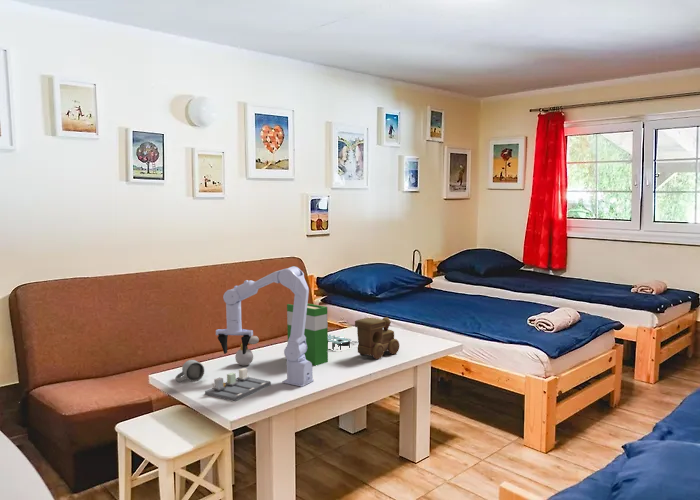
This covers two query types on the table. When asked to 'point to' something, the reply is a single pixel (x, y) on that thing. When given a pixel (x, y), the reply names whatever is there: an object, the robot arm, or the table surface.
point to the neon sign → (339, 341)
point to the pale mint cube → (231, 379)
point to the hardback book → (313, 332)
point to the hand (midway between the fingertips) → (234, 353)
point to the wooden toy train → (375, 337)
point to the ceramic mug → (191, 371)
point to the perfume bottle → (248, 356)
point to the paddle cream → (243, 374)
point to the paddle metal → (218, 384)
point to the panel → (239, 389)
